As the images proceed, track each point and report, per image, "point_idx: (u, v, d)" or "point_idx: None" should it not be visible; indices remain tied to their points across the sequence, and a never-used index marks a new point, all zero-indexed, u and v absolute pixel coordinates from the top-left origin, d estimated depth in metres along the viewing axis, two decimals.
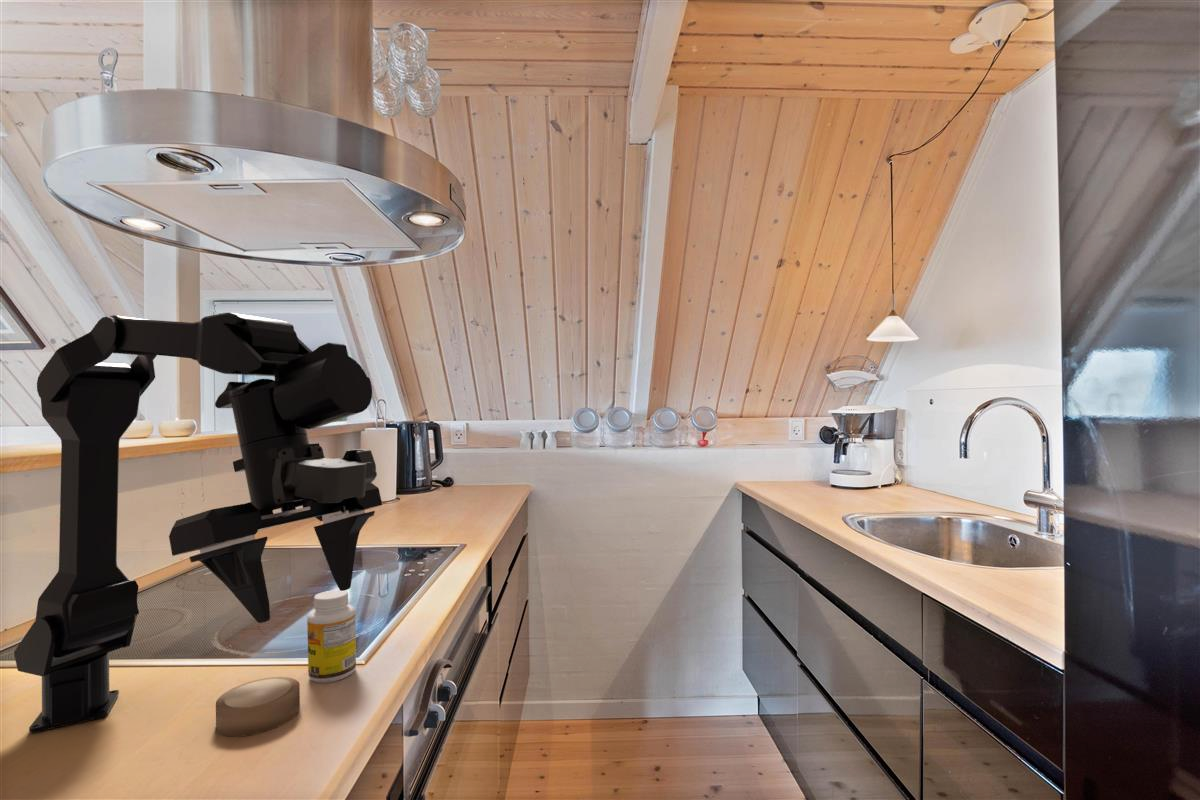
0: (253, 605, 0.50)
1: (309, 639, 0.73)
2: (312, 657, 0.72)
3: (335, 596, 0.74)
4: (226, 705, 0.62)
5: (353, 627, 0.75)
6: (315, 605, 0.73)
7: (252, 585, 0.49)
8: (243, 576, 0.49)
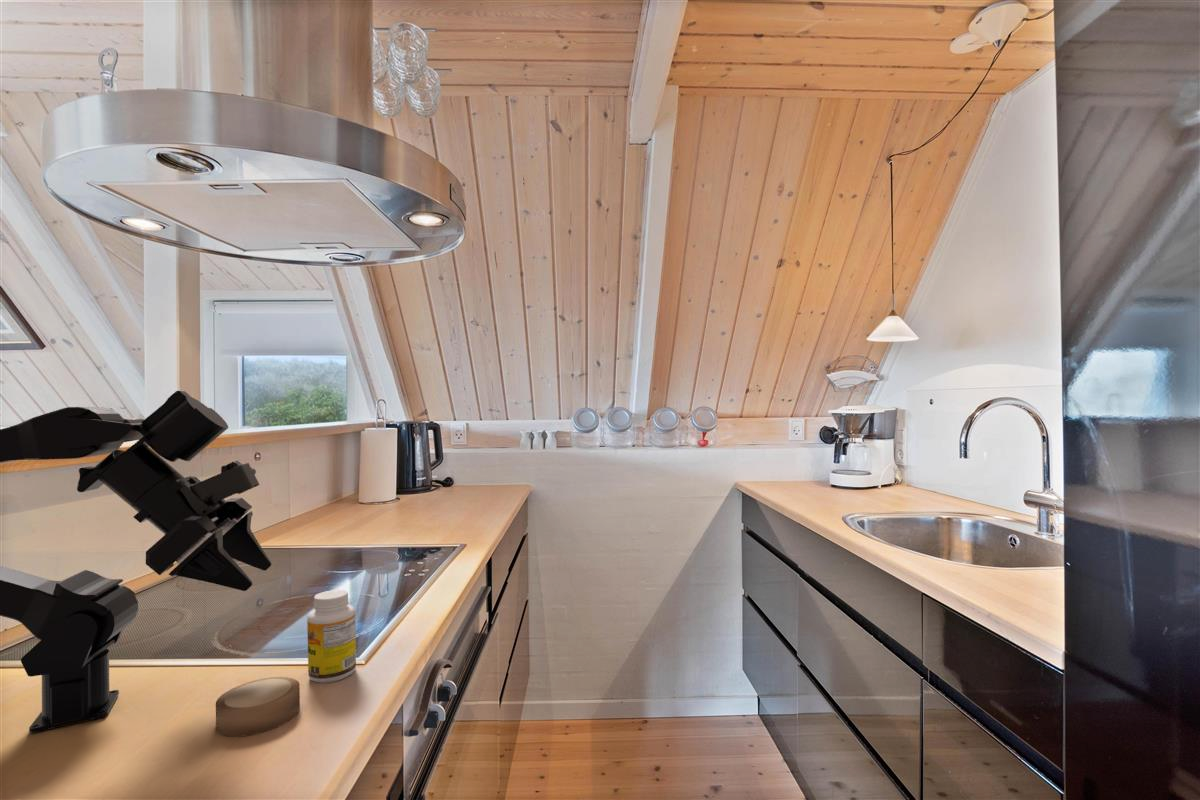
0: (236, 580, 0.67)
1: (309, 639, 0.73)
2: (312, 657, 0.72)
3: (335, 595, 0.74)
4: (226, 705, 0.62)
5: (353, 627, 0.75)
6: (315, 605, 0.73)
7: (230, 564, 0.66)
8: (218, 564, 0.66)
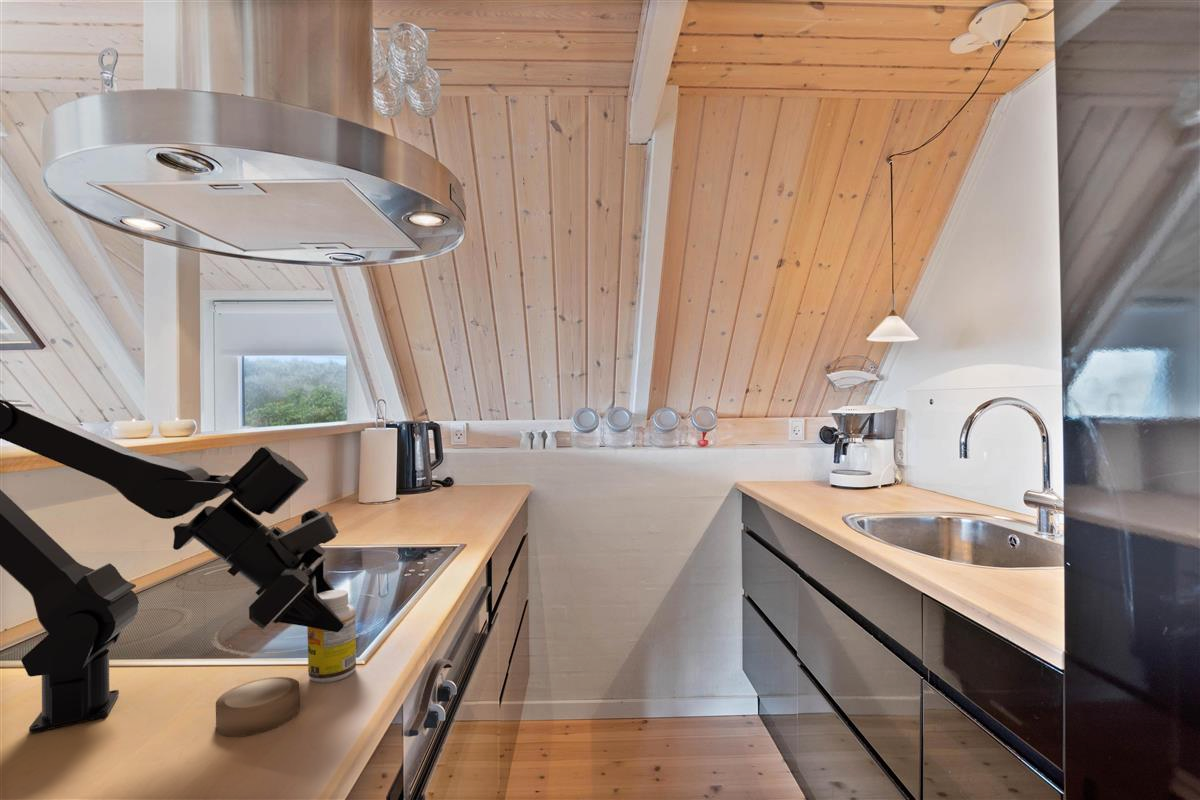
0: (330, 622, 0.71)
1: (309, 639, 0.73)
2: (312, 657, 0.72)
3: (335, 595, 0.74)
4: (226, 705, 0.62)
5: (353, 627, 0.75)
6: None
7: (324, 609, 0.71)
8: (313, 609, 0.70)
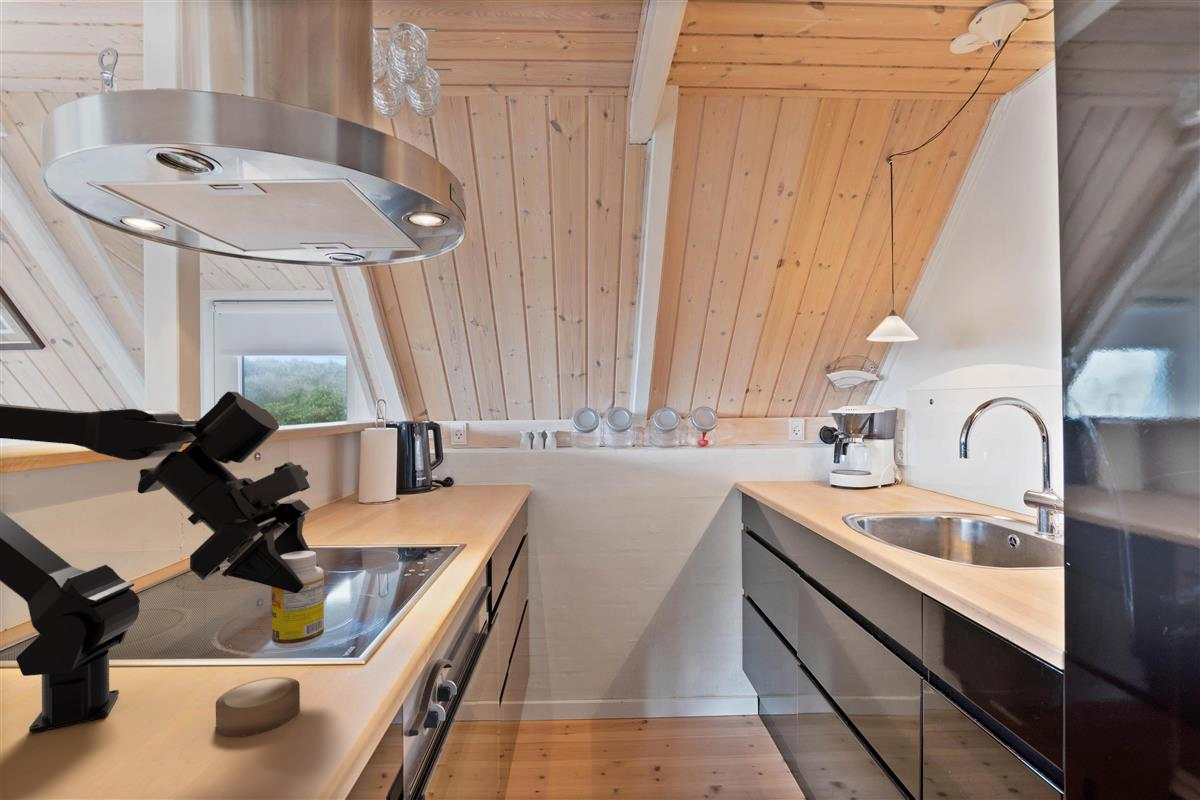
0: (287, 582, 0.66)
1: (272, 600, 0.68)
2: (273, 619, 0.68)
3: (300, 556, 0.69)
4: (226, 705, 0.62)
5: (319, 591, 0.69)
6: None
7: (281, 566, 0.66)
8: (269, 566, 0.65)
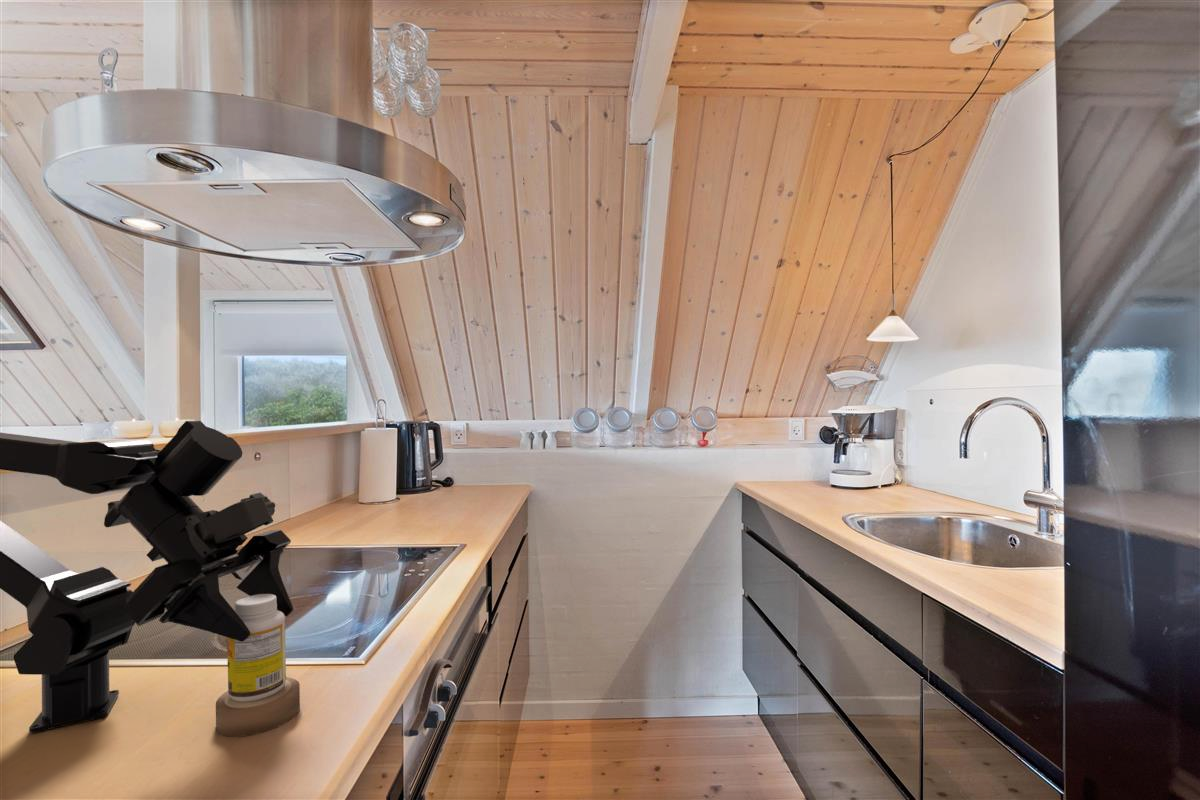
0: (232, 629, 0.61)
1: None
2: None
3: (255, 602, 0.64)
4: (226, 705, 0.62)
5: (275, 641, 0.64)
6: (235, 610, 0.64)
7: (223, 612, 0.60)
8: (212, 612, 0.60)
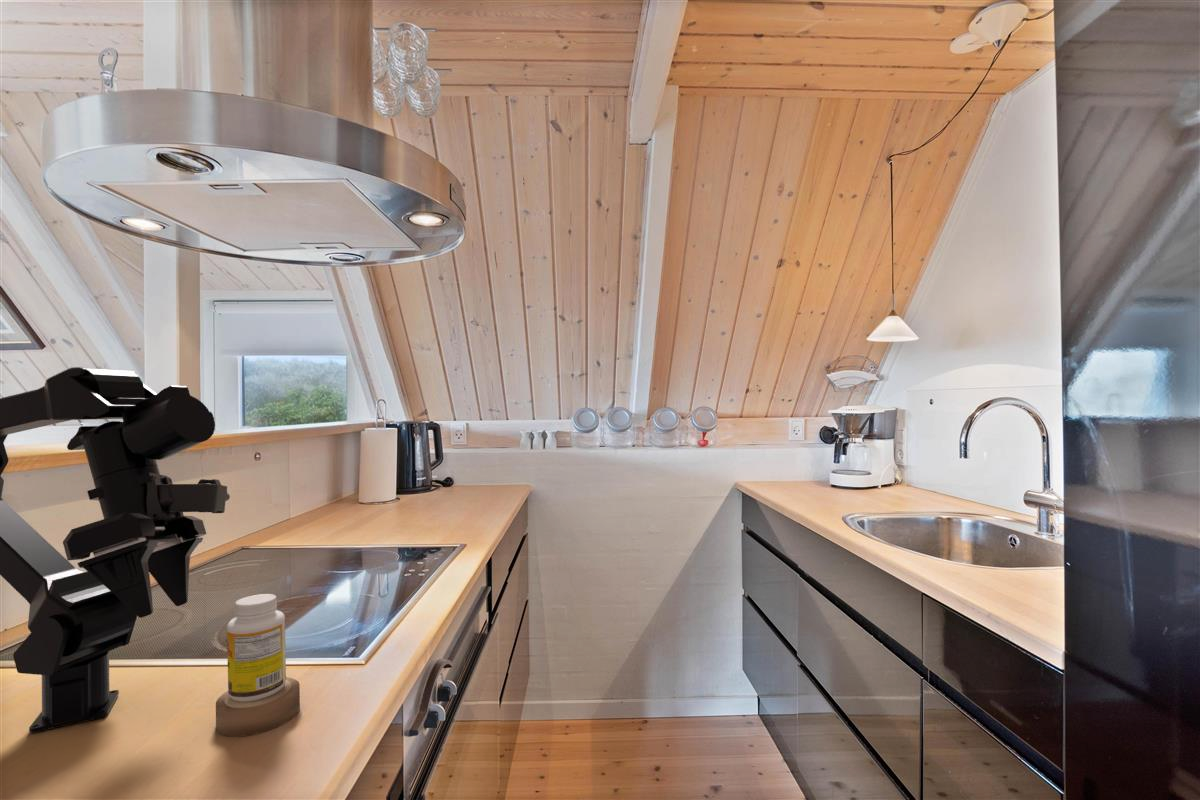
0: (139, 601, 0.59)
1: None
2: None
3: (255, 602, 0.64)
4: (226, 705, 0.62)
5: (275, 641, 0.64)
6: (235, 610, 0.64)
7: (143, 581, 0.59)
8: (131, 576, 0.59)
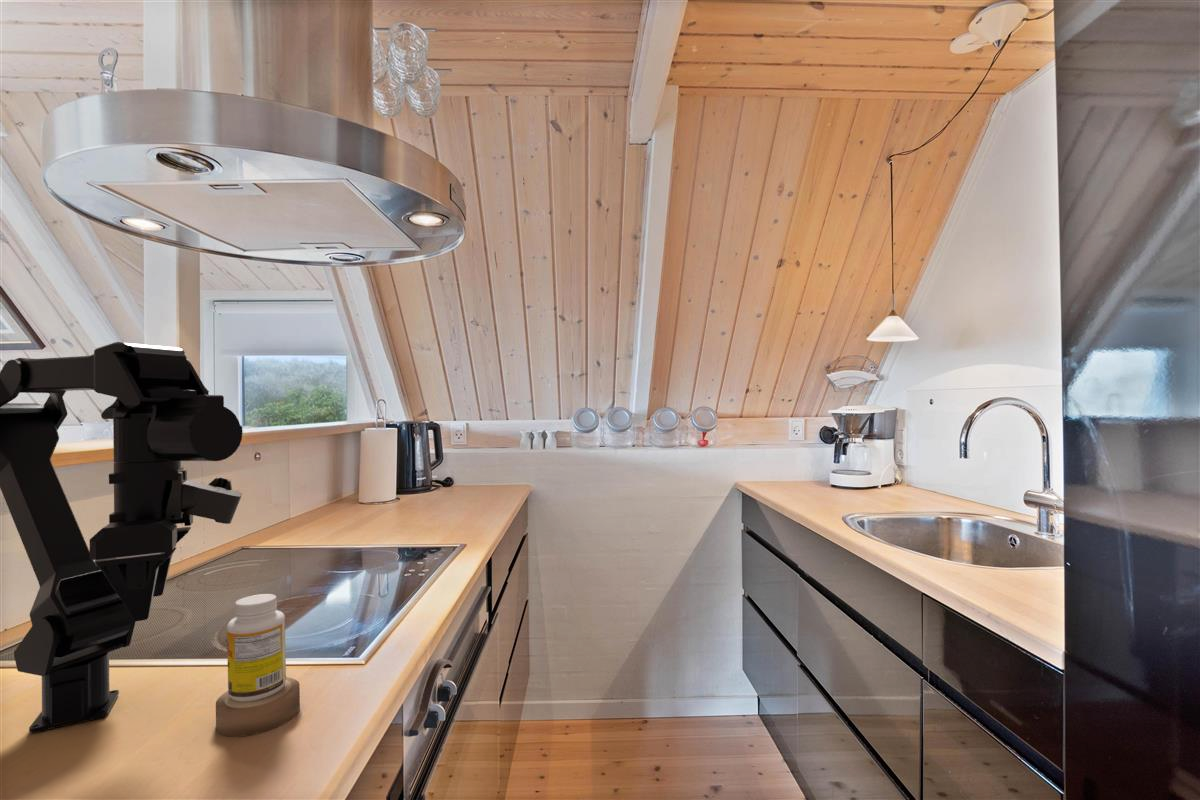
0: (139, 606, 0.58)
1: None
2: None
3: (255, 602, 0.64)
4: (226, 705, 0.62)
5: (275, 641, 0.64)
6: (235, 610, 0.64)
7: (150, 588, 0.58)
8: (140, 580, 0.58)
